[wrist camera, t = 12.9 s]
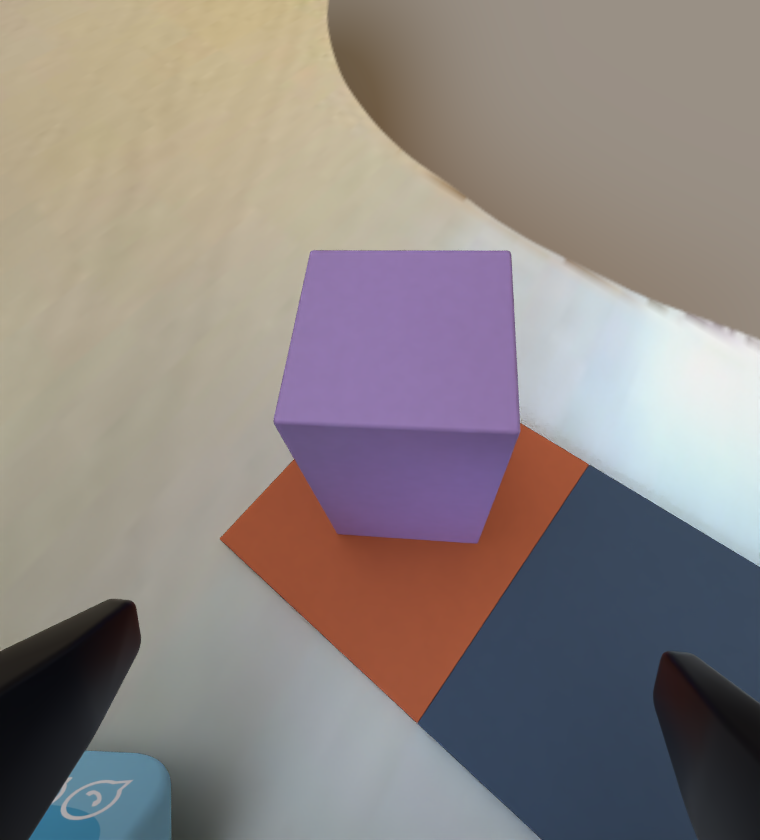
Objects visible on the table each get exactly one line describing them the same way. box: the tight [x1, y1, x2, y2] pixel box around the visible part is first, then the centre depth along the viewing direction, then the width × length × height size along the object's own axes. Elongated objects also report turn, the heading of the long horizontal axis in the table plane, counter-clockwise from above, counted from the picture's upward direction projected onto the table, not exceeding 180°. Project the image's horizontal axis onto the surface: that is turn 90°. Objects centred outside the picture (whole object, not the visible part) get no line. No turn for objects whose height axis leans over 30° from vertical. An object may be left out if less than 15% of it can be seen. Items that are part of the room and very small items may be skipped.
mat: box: [220, 423, 760, 840], centre depth 15 cm, size 26×10×1 cm, turn 51°
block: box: [274, 250, 520, 543], centre depth 15 cm, size 5×5×8 cm
